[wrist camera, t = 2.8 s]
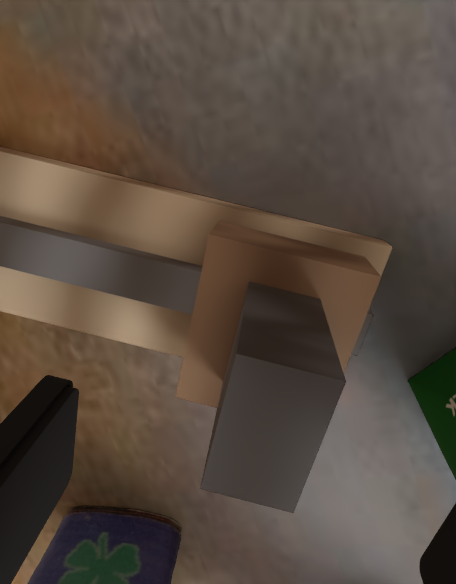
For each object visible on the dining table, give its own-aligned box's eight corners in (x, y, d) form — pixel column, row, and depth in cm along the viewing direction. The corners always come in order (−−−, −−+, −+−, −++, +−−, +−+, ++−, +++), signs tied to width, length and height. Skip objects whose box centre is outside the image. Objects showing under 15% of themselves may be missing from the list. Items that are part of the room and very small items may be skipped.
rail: (384, 240, 21) (577, 405, 8) (330, 381, 24) (400, 665, 11) (-140, 112, 21) (-802, 59, 8) (-122, 266, 24) (-573, 405, 11)
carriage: (365, 256, 18) (443, 352, 10) (313, 395, 21) (340, 561, 13) (218, 220, 18) (173, 284, 10) (188, 364, 21) (132, 506, 13)
